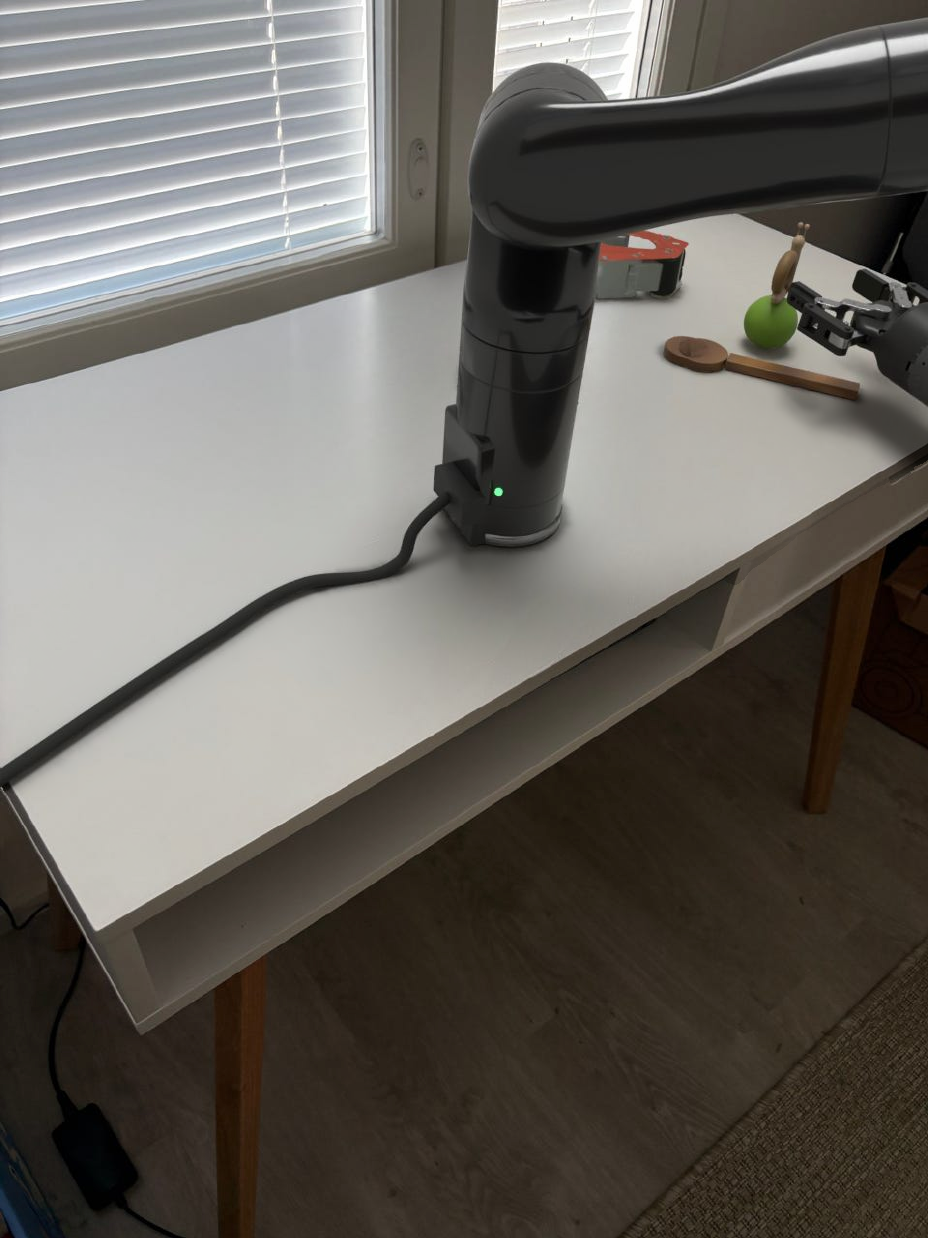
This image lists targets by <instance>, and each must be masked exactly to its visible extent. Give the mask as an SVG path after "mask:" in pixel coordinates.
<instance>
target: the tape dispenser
mask: <svg viewBox="0 0 928 1238" xmlns="http://www.w3.org/2000/svg"><path fill="white" fill-rule="evenodd" d="M631 236H632V237H635V238H640V239H642V240H648V241H649V242H651V243H652V244H653V245H654V246H655V247H654V248H642V247H641V248H639V247H630V246H629V243H630V237H631ZM689 244H690V243H689V242H688V241H685V240H682V239H678V238H675V237H673V236H672V235H666V234H661V233H656V232H653V231H648V230H644V231H640V232H636V233H632V234H627V235H623V236H619V237H615V238H611V239H607V240H603V241H601V249H600V258H599V267H598V276H597V286H596V296H595V299H596V298H597V299H617V298H634V297H635V296H636V295H637V294H638V292H649V294H650V296H651V297H653V298H656V299H662V300H663V299H669V298H671V297H672V296H673V295H674V294H675V292H677V291H678V290H679V288H680V287H681V286H682V285H683V280H682V277H683V271H684V270H683V267H684V265H685V260H686V254H687V251H686V248H687V247H688V246H689Z"/></svg>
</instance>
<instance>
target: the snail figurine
mask: <svg viewBox="0 0 928 1238" xmlns="http://www.w3.org/2000/svg"><path fill="white" fill-rule="evenodd" d="M797 227H798V230H797V235H795V236H794V237H793V238H792V241H791V246H790V249H789V250H787V251H785V252H784V253H783V254H782V256H781V258H780V259H779V260H778V262H777V265H776V267H775V269H774V273H773V276H772V281H771V287H770V289H771V292H772V293H771V294H768V295H765V296H761V297H759V298H758V299H756V300H755V301H753V302H752V303H751V305H750V306H749V307H748V309H746V312H745V315H744V318H743V330H744V333H745V335H746V338H747V339H748V340H749V342H751V343H752V344H753V345H754V346H756V347H758V348H760V349H765V350H771V349H776V348H777V349H778V348H780V347H782V346H784V345H785V344H787V343H788V342H789V341H790V340H791V339H792V338H793V337H794V335H795V333H796V331H797V326H798V323H799V317H798V310H796V309H795V308H793V307H792V306H790V305H789V304H788V303H787V297H786V296H787V295H788V291H789V288H790V285H791V283H793V282H794V278H795V275H796V272H797V268H798V266H799V262H800V259H801V254H802V250H803V249H804V246H805V244H806V239H805V236H806V234H807V230H809V229H810V228H811V226H810V223H805V224H804V223H803V222H802V221H800V222H798V223H797ZM803 227H804V230H805V231H804V234H803V235H801V234H799V233H800V230H801V229H802V228H803Z"/></svg>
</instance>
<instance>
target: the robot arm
mask: <svg viewBox="0 0 928 1238" xmlns="http://www.w3.org/2000/svg"><path fill="white" fill-rule="evenodd" d="M467 192H468V199H469V202H470V203H469V204H470V205H471V214H470V228H469V238H468V247H467V255H466V264H465V273H464V282H463V291H462V293H463V294H462V310H461V326H460V338H459V339H460V341H459V343H460V344H459V354H458V370H457V383H456V385H457V386H456V397H455V399H456V400H455V403H453V404H450V405H447V406H446V407H445V409H444V425H443V439H442V440H443V441H442V459H441V463H440V464H435V465H434V472H433V488H432V489H433V492H434V493H435V495H436V496H437V497H436V498H435V499H434V500H433V501H431V502H430V504H428V505H427V506H426V507H425V508H424V509H422V511H420V512H419V513H418V514H417V516H415V518H414V519H412V521H411V522H410V524H409V526H408V527H407V528H406V530H405V533H404V535H403V538H402V543H401V547H400V550H399V552H398V554H397V555H396V556H395V557H394V558H392V559H391V560H389V561H388V562H386V563H385V564H383V565H381V566H378V567H376V568H372V569H367V570H361V571H348V572H347V571H346V572H343V571H342V572H326V573H324V572H323V573H316V574H312V575H311V574H310V575H306V576H303V577H300V578H297V579H294V580H292V581H289V582H286V583H284V584H282V585H280V586H278V587H276V588H274V589H272V590H270V591H268V592H266V593H264V594H263V595H261V596H259V597H257V598H256V599H254V600H252V601H251V602H249V603H247V605H245V606H243V607H242V608H240V609H239V610H237V611H236V612H235V613H234V614H232V615H230V616H229V617H228V618H226V619H224V620H223V621H222V622H220V623H218V624H217V625H215V626H213V627H212V628H211V629H209V630H207V631H205V632H204V633H202V634H201V635H199V636H198V637H196V638H195V639H193V640H191V641H190V642H188V643H187V644H185V645H184V646H182V647H181V648H180V647H179V649H177V650H176V651H174V652H173V653H171V654H170V655H168V656H166V657H165V658H163V659H162V660H160V661H159V662H157V663H156V664H154V665H153V666H151V667H150V668H148V669H146V670H145V671H144V672H142V673H141V674H139V675H137V676H136V677H134V678H133V679H131V680H129V681H128V682H126V683H125V684H123V685H122V686H121V687H119V688H117V689H116V690H115V691H112V693H110V694H108V695H107V696H105V697H103V698H102V699H101V700H100V701H98V702H96V703H95V704H94V705H92V706H90V707H89V708H88V709H86V710H84V711H83V712H82V713H80V714H79V715H77V716H76V717H74V718H73V719H71V720H70V721H68V722H67V723H65V724H64V725H63V726H60V728H58V729H57V730H55V731H54V732H52V733H51V734H49V735H47V736H46V737H45V738H44V739H42V740H40V741H39V742H37V743H36V744H34V745H33V746H31V747H30V748H29V749H27V750H26V751H24V752H23V753H21V754H19V755H18V756H17V757H15V758H13V759H12V760H11V761H9V762H8V763H6V764H5V765H3V766H2V767H0V788H2V787H3V786H4V785H6V784H7V783H9V782H11V781H12V780H13V779H15V778H16V777H17V776H19V775H21V774H22V773H24V772H26V771H27V770H28V769H29V768H31V767H33V766H34V765H35V764H37V763H38V762H40V761H41V760H42V759H44V758H46V757H47V756H48V755H50V754H51V753H52V752H54V751H55V750H57V749H58V748H60V747H61V746H63V745H64V744H66V743H67V742H69V741H70V740H72V739H74V737H76V736H77V735H78V734H80V733H81V732H83V731H84V730H86V729H87V728H89V727H90V726H92V725H93V724H95V723H96V722H98V721H99V720H101V719H102V718H103V717H105V716H107V715H108V714H109V713H111V712H112V711H114V710H116V709H117V708H119V707H120V706H121V705H123V704H124V703H126V702H127V701H129V700H130V699H132V698H133V697H135V696H136V695H138V694H139V693H141V692H142V691H143V690H145V689H147V688H148V687H150V686H151V685H152V684H154V683H156V682H157V681H158V680H160V679H161V678H163V677H164V676H166V675H167V674H169V673H171V672H172V671H173V670H175V669H176V668H178V667H179V666H181V665H182V664H184V663H185V662H187V661H189V660H191V659H192V658H193V657H196V655H198V654H199V653H201V652H203V651H204V650H206V649H208V648H209V647H211V646H212V645H214V644H215V643H216V642H217V643H218V641H220V640H221V639H223V638H225V637H226V636H227V635H229V634H231V633H232V632H233V631H235V630H236V629H238V628H239V627H241V626H243V625H244V624H245V623H246V622H248V621H250V620H251V619H252V618H253V617H255V616H257V615H258V614H260V613H262V612H263V611H264V610H266V609H268V608H269V607H271V606H273V605H274V604H277V603H279V602H280V601H282V600H284V599H287V598H289V597H291V596H293V595H296V594H298V593H301V592H303V591H306V590H310V589H314V588H319V587H326V586H327V587H328V586H343V585H345V586H346V585H353V584H354V585H355V584H361V583H367V582H372V581H377V580H381V579H386V578H388V577H389V576H391V575H394V574H396V573H397V572H398V571H400V570H401V569H402V568H404V567H405V566H406V565H407V564H408V562H409V561H410V559H411V557H412V555H413V552H414V549H415V544H416V541H417V538H418V537H419V534H420V533H421V532H422V530H423V529H424V527H425V526H427V524H428V523H429V522H430V521H431V520H432V519H433V518H434V517H436V516H437V515H438V514H439V513H440V512H441V511H442V510H444V512H445V513H446V514H447V516H448V517H449V518H450V520H451V522H452V523H453V524H454V526H455V527H456V528H457V529H458V531H460V533H461V534H462V535H463V537H464V538H465V540H466V541H467V542H468V544H469V545H471V546H473V547H474V546H478V545H484V544H485V545H486V544H487V545H491V546H497V547H505V548H507V547H508V548H514V547H515V548H516V547H524V546H529V545H534V544H537V543H539V542H541V541H543V540H545V539H547V538H548V537H550V536H551V535H552V534H554V532H555V531H556V530H557V528H558V527H559V526H560V523H561V518H562V513H563V512H562V511H563V498H564V492H565V487H566V480H567V475H568V474H567V473H568V467H569V461H570V455H571V448H572V442H573V437H574V431H575V423H576V419H577V411H578V405H579V399H580V392H581V388H582V387H581V386H582V380H583V374H584V368H585V363H586V357H587V350H588V344H589V337H590V331H591V327H592V321H593V314H594V309H595V302H596V297H595V296H596V286H597V276H598V267H599V258H600V249H601V241H603V240H607V239H611V238H615V237H619V236H623V235H627V234H632V233H636V232H640V231H648V230H652V229H657V228H660V227H661V228H662V227H664V226H665V227H666V226H669V225H674V224H679V223H682V222H688V221H693V220H699V219H704V218H711V217H719V216H726V215H734V214H737V215H738V214H746V213H747V214H748V213H755V212H756V213H757V212H766V211H775V210H776V211H777V210H782V209H788V208H797V207H804V206H810V205H818V204H819V205H820V204H827V203H828V204H829V203H830V204H831V203H838V202H850V201H851V202H852V201H861V200H862V201H863V200H870V199H876V198H884V197H885V198H886V197H893V196H900V195H908V194H914V193H915V194H916V193H922V192H928V17H922V18H917V19H910V20H904V21H897V22H891V23H886V24H879V25H873V26H867V27H863V28H859V29H855V30H851V31H847V32H843V33H839V34H836V35H832V36H829V37H826V38H823V39H819V40H817V41H815V42H812V43H809V44H806V45H804V46H802V47H799V48H797V49H795V50H792V51H790V52H787V53H785V54H783V55H780V56H778V57H776V58H773V59H772V60H769V61H767V62H765V63H763V64H760V65H759V66H757V67H754V68H752V69H750V70H748V71H746V72H743V73H740V74H738V75H736V76H734V77H731V78H729V79H726V80H723V81H721V82H717V83H715V84H711V85H708V86H705V87H702V88H697V89H692V90H689V91H688V90H687V91H682V92H677V93H671V94H659V95H652V96H641V97H632V98H619V99H609V98H608V97H607V96H606V94H605V92H604V91H603V90H602V88H601V86H600V85H598V83H597V82H596V81H595V80H594V79H593V78H591V76H589V75H588V74H586V72H584V71H583V70H580V69H578V68H577V67H574V66H572V65H570V64H569V65H568V64H565V63H561V62H553V61H552V62H550V61H546V62H538V63H533V64H529V65H527V66H524V67H522V68H520V69H518V70H516V71H515V72H513V73H511V74H510V75H508V76H507V77H506V78H504V80H502V81H501V82H500V83H499V84H498V86H496V87H495V89H494V90H493V91H492V92H491V94H490V95H489V97H488V99H487V100H486V102H485V105H484V106H483V108H482V111H481V113H480V116H479V120H478V122H477V127H476V130H475V135H474V139H473V143H472V147H471V151H470V155H469V161H468V167H467ZM851 289H852V290H853V292H855V293H857V294H858V295H860V296H861V297H863V298H864V299H866V300H867V301H869V302H867V303H865V302H861V301H858V300H854V299H850V298H843V299H842V300H841V301H838V300H833V299H830V298H825V297H823V295H821V294H820V293H818V292H817V291H815V290H814V289H813V288H811V287H809V286H808V285H806V284H804V283H803V282H801V280H800V281H799V280H798V281H793V282H792V283H791V285H790V288H789V291H788V293H787V294H786V299H787V303H788V304H789V305H790V306H792V307H793V308H795V309H796V311H797V312H799V313H800V314H801V315H800V318H799V320H798V324H797V328H796V331H798V332H800V333H801V334H802V335H804V336H806V337H808V339H810V340H812V341H813V342H815V343H816V344H818V345H819V346H821V347H822V348H824V349H826V350H827V351H828V352H830V353H831V354H834V355H835V356H838V357H845V356H846V355H847V353H848V349H849V348H850V347H854V346H857V347H859V348H861V349H864V350H866V351H869V352H871V353H872V354H873V356H874V359H875V361H876V362H875V363H876V366H877V369H878V371H879V373H880V374H881V375H882V376H884V378H886V379H887V380H889V381H890V382H892V383H893V384H895V385H896V386H898V387H899V388H900V389H902V390H903V391H905V393H908V394H909V395H910V396H912V397H913V398H915V399H916V400H918V401H919V402H920V403H922V404H923V405H924V406H926V407H928V290H927V289H926V288H924V286H921V285H920V284H919V283H916V282H911V281H909V282H907V283H906V286H902V285H901V284H900V283H899V282H895V281H892V282H891V281H890V282H889V281H887V280H885V279H883V278H882V277H880V276H878V275H877V274H876V273H873V272H872V271H870V270H869V269H867V268H861V269H858V270H857V271H856V273H855V276H854V278H853V281H852V284H851ZM916 298H918V303H917V304H916V305H915V304H914V302H915V300H916ZM826 310H828V311H832V312H834V313H835V315H836V316H834V315H833V314H831V313H830V312H828V311H826ZM848 312H853V313H852V317H851V319H850V322H848V321H844V320H845V317H846V314H847V313H848Z"/></svg>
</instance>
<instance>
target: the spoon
mask: <svg viewBox="0 0 928 1238" xmlns="http://www.w3.org/2000/svg"><path fill="white" fill-rule="evenodd" d="M663 356H664V357H665V358H666V359H667V361H669V362H671V363H672V364H675V365H678V366H681V367H685V368H687V369H689V370H693V371H695V372H696V371H697V372H701V373H702V372H703V373H713V372H718V371H721V370H722V369H725V370H728V371H732V372H735V373H740V374H744V375H748V376H752V377H757V378H761V379H765V380H770V381H773V382H776V383H777V382H778V383H782V384H787V385H791V386H795V387H798V388H802V389H808V390H810V391H811V390H812V391H816V392H820V393H824V394H829V395H832V396H837V397H840V398H845V399H849V400H853V401H856V400H857V398H858V395H859V392H860V387H861V383H860V382H857V381H852V380H848V379H843V378H839V377H835V376H830V375H826V374H823V373H817V372H813V371H810V370H804V369H800V368H796V367H793V366H788V365H784V364H779V363H775V362H771V361H767V360H762V359H759V358H754V357H751V356H750V357H749V356H745V355H742V354H737V353H733V352H730V353H728V350H727V349H726V347H724V345H722V344H720V343H718V342H717V341H714V340H711V339H707V338H701V337H692V336H687V335H677V336H672V337H669V338H667V340H666V341H665V343H664V347H663Z"/></svg>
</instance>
